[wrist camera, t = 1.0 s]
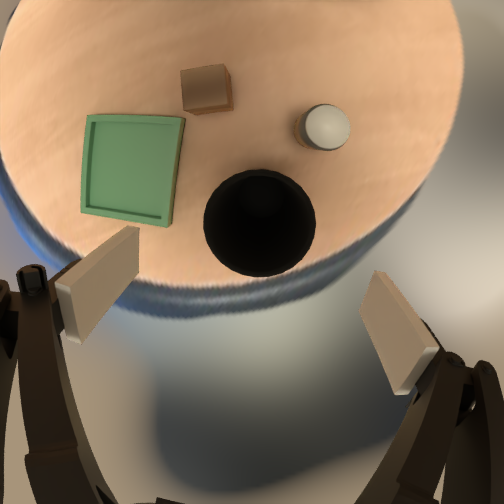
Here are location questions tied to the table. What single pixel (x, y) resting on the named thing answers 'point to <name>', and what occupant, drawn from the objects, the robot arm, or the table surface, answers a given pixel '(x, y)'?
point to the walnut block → (206, 89)
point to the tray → (131, 167)
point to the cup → (259, 223)
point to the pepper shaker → (322, 128)
